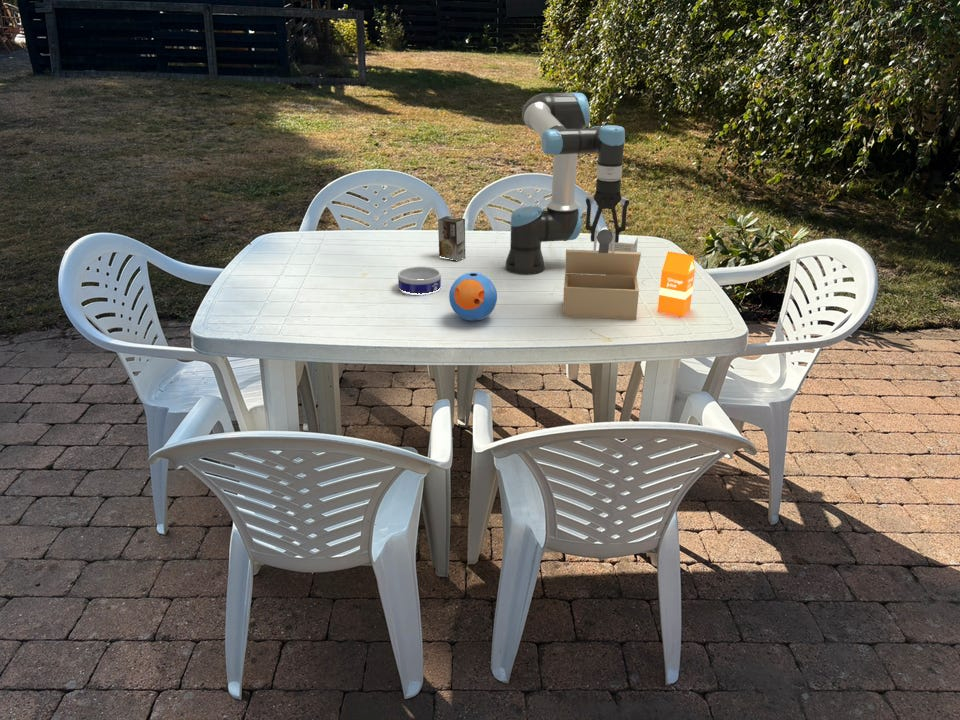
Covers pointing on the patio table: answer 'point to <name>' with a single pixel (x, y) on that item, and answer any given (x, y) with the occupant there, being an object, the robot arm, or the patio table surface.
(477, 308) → the treat dispenser ball
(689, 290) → the orange juice
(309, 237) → the patio table surface
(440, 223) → the coffee box
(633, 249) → the supplement box
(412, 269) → the dog bowl
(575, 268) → the carton lid
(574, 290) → the carton
